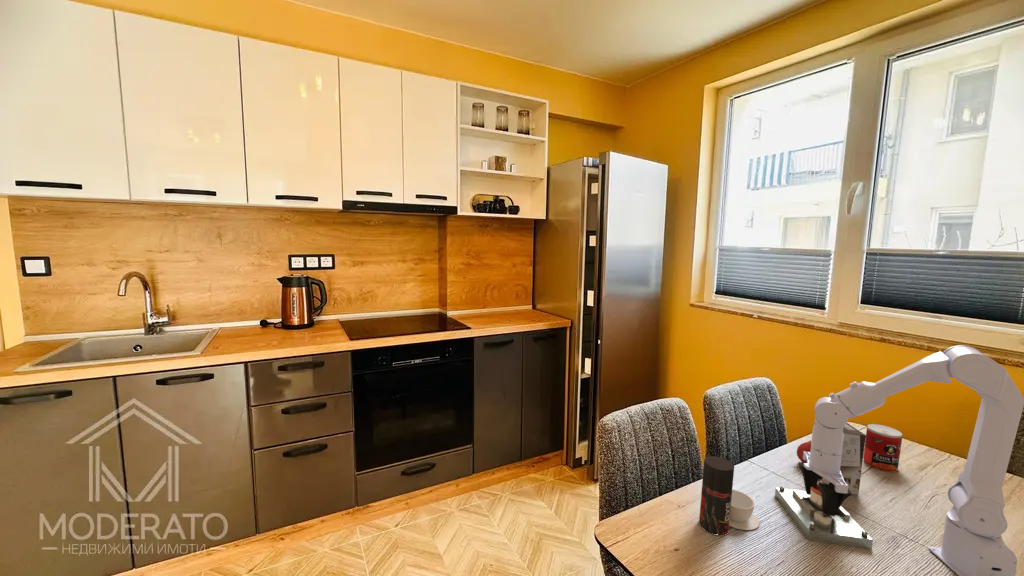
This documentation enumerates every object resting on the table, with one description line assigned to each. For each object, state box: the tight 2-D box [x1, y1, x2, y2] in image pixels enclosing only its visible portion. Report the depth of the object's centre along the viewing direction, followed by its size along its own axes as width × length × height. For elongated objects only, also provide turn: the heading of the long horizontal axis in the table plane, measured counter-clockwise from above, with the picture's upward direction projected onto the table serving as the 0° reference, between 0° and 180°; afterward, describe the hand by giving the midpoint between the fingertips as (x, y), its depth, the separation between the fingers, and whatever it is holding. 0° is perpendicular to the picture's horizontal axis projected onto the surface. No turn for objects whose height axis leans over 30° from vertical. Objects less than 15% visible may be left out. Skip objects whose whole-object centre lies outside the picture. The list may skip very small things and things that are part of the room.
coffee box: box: [822, 422, 866, 495], centre depth 108 cm, size 9×6×16 cm
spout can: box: [809, 480, 824, 512], centre depth 95 cm, size 4×4×8 cm
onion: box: [796, 439, 812, 462], centre depth 117 cm, size 6×6×8 cm
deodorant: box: [698, 455, 735, 536], centre depth 90 cm, size 6×6×15 cm
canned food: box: [863, 423, 903, 473], centre depth 118 cm, size 8×8×11 cm
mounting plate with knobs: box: [774, 486, 874, 550], centre depth 93 cm, size 16×12×4 cm
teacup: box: [729, 489, 760, 531], centre depth 94 cm, size 10×10×5 cm
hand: (820, 503), depth 95 cm, fingers open, 7 cm apart
